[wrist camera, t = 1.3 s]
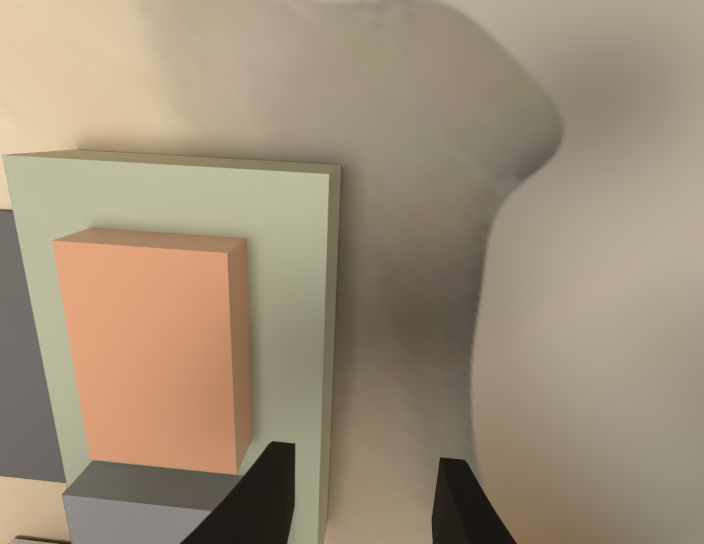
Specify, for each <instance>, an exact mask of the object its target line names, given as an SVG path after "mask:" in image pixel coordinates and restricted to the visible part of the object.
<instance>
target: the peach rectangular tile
mask: <svg viewBox="0 0 704 544" xmlns="http://www.w3.org/2000/svg"><path fill="white" fill-rule="evenodd" d="M52 244H53V249H54V255H55V261H56V267H57V273H58V278H59V284H60V290H61V296H62V302H63V307H64V313H65V319H66V325H67V331H68V336H69V342H70V348H71V354H72V360H73V365H74V371H75V377H76V383H77V389H78V394H79V400H80V406H81V412H82V417H83V423H84V429H85V435H86V441H87V446H88V452H89V458H90V459H92V460H102V461H112V462H121V463H131V464H141V465H150V466H160V467H170V468H179V469H189V470H199V471H208V472H218V473H228V474H237V473H238V471H239V468H240V466H241V464H242V462H243V459H244V457H245V455H246V452H247V450H248V448H249V446H250V443H251V441H252V421H251V386H250V351H249V316H248V280H247V245H246V238H234V237H219V236H205V235H190V234H176V233H161V232H146V231H132V230H117V229H103V228H88V229H85V230H82V231H79V232H76V233H73V234H70V235H67V236H64V237H61V238H58V239H55V240H52Z"/></svg>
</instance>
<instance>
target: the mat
mask: <svg viewBox="0 0 704 544" xmlns="http://www.w3.org/2000/svg"><path fill="white" fill-rule="evenodd" d="M0 476H6V477H15V478H24V479H34V480H43V481H52V482H62V483H67V482H66V477H65V472H64V467H63V462H62V457H61V452H60V447H59V442H58V437H57V432H56V426H55V421H54V416H53V411H52V406H51V401H50V396H49V391H48V386H47V381H46V376H45V371H44V366H43V360H42V355H41V350H40V345H39V340H38V335H37V330H36V325H35V320H34V315H33V310H32V305H31V300H30V295H29V289H28V284H27V279H26V274H25V269H24V264H23V259H22V254H21V249H20V244H19V239H18V234H17V229H16V223H15V218H14V213H13V211H11V210H0Z"/></svg>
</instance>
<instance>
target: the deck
mask: <svg viewBox="0 0 704 544" xmlns="http://www.w3.org/2000/svg"><path fill="white" fill-rule="evenodd" d="M2 157H3V163H4V168H5V173H6V178H7V183H8V188H9V193H10V198H11V203H12V208H13V213H14V218H15V223H16V229H17V234H18V239H19V244H20V249H21V254H22V259H23V264H24V269H25V274H26V279H27V284H28V289H29V295H30V300H31V305H32V310H33V315H34V320H35V325H36V330H37V335H38V340H39V345H40V350H41V355H42V360H43V366H44V371H45V376H46V381H47V386H48V391H49V396H50V401H51V406H52V411H53V416H54V421H55V426H56V432H57V437H58V442H59V447H60V452H61V457H62V462H63V467H64V472H65V477H66V482H67V487H69V486H70V485H71V484H72V483H73V482H74V481H75V480H76V478H77V477H78V476H79V475H80V474H81V473H82V472H83V471H84V469H85V468H86V467H87V466H88V465H89V464H90V463H91V462H92V461H93V460H92V459H90V458H89V452H88V446H87V441H86V435H85V429H84V423H83V417H82V412H81V406H80V400H79V394H78V389H77V383H76V377H75V371H74V365H73V360H72V354H71V348H70V342H69V336H68V331H67V325H66V319H65V313H64V307H63V302H62V296H61V290H60V284H59V278H58V273H57V267H56V261H55V255H54V249H53V244H52V240H55V239H58V238H61V237H64V236H67V235H70V234H73V233H76V232H79V231H82V230H85V229H88V228H103V229H117V230H132V231H146V232H161V233H176V234H190V235H205V236H219V237H234V238H246V245H247V280H248V316H249V351H250V386H251V421H252V441H251V443H250V446H249V448H248V450H247V452H246V455H245V457H244V459H243V462H242V464H241V466H240V468H239V471H238V473H237V474H230V475H240V476H244V475H245V473H246V472H247V471H248V470H249V469H250V467H251V466H252V465H253V464H254V462H255V461H256V460H257V458H258V457H259V456H260V455H261V453H262V452H263V451H264V449H265V448H266V447H267V445H268V444H269V443H271V442H272V441H277V442H287V443H295V507H294V512H293V517H292V523H291V528H290V532H289V537H288V542H287V544H323V543H324V537H325V531H326V524H327V512H328V487H329V462H330V437H331V412H332V387H333V362H334V337H335V311H336V286H337V261H338V236H339V211H340V186H341V165H337V164H320V163H302V162H285V161H267V160H249V159H232V158H214V157H197V156H179V155H162V154H144V153H127V152H109V151H92V150H64V151H50V152H36V153H23V154H9V155H2ZM95 461H102V460H95ZM105 462H112V461H105ZM114 463H121V462H114ZM124 464H131V463H124ZM134 465H141V464H134ZM143 466H150V465H143ZM153 467H160V466H153ZM163 468H170V467H163ZM172 469H179V468H172ZM182 470H189V469H182ZM192 471H199V470H192ZM201 472H208V471H201ZM211 473H218V472H211ZM221 474H228V473H221Z"/></svg>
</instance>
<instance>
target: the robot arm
mask: <svg viewBox="0 0 704 544" xmlns="http://www.w3.org/2000/svg"><path fill="white" fill-rule="evenodd" d="M294 507H295V443H287V442H277V441H272V442H271V443H269V444H268V445H267V447H266V448H265V449H264V451H263V452H262V453H261V455H260V456H259V457H258V458H257V460H256V461H255V462H254V464H253V465H252V466H251V467H250V469H249V470H248V471H247V472H246V473H245V475H244V476H243V477H242V478H241V479H240V481H239V482H238V483H237V484H236V485H235V486H234V487H233V489H232V490H231V491H230V492H229V493H228V494H227V495H226V497H225V498H224V499H223V500H222V501H221V502H220V503H219V504H218V505H217V507H216V508H215V509H214V510H213V511H212V512H211V513H210V514H209V515H208V516H207V517H206V518H205V519H204V520H203V521H202V522H201V523H200V524H199V525H198V526H197V527H196V528H195V529H194V530H193V531H192V532H191V533H190V534H189V535H188V536H187V537H186V538H185V539H184V540H183V541H182V542H181V543H180V544H287V542H288V537H289V532H290V528H291V523H292V517H293V512H294ZM432 537H433V544H517V543H516V542H515V540H514V539H513V538H512V536H511V535H510V533H509V531H508V530H507V528H506V527H505V525H504V524H503V522H502V521H501V519H500V518H499V516H498V515H497V513H496V512H495V510H494V508H493V507H492V505H491V503H490V502H489V500H488V498H487V497H486V495H485V493H484V492H483V490H482V488H481V486H480V485H479V483H478V481H477V479H476V478H475V476H474V474H473V472H472V470H471V468H470V466H469V465H468V463H467V462H466V461H465V460H461V459H451V458H441V457H440V462H439V470H438V477H437V484H436V492H435V499H434V506H433V513H432ZM9 544H57V543H48V542H40V541H31V540H23V539H13V540H12V541H11V542H10V543H9Z"/></svg>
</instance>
